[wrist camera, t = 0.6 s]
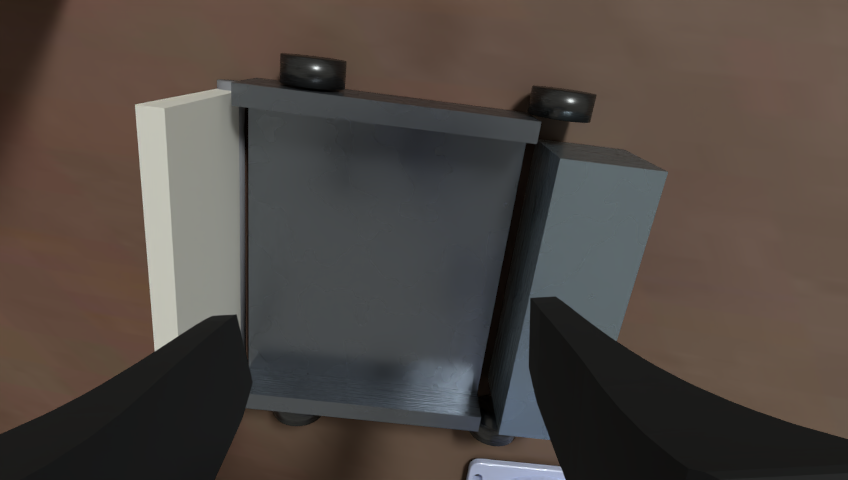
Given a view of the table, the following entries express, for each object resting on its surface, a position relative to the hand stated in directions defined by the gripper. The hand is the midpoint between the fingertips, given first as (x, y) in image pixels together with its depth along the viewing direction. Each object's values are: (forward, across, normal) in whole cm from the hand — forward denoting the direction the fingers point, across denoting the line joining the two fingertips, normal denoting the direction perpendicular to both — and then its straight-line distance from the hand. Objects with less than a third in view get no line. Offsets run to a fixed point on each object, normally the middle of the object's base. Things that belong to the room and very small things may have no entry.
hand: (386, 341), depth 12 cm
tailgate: (+10, +7, +1) cm, 12 cm away
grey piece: (+10, -1, +3) cm, 11 cm away
